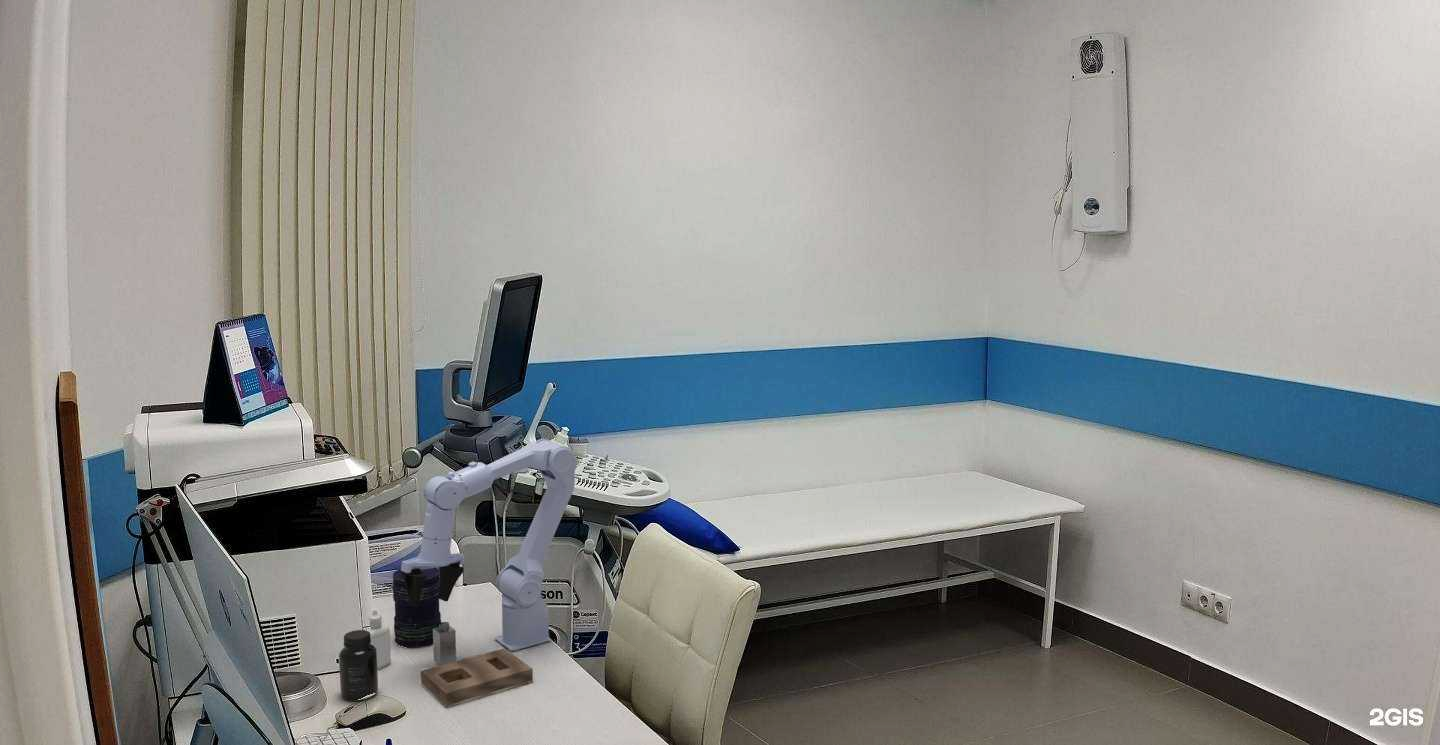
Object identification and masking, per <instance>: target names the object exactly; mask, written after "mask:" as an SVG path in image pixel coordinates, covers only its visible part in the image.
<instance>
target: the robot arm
mask: <svg viewBox="0 0 1440 745" xmlns="http://www.w3.org/2000/svg"><path fill="white" fill-rule="evenodd" d="M578 464H579V461H578V459H577V457H576V455H575V452H574V450H573V449H571V447H568V446H566V445H561V444H559V443H556V442H554V441H552V440H550V439H547V438H541V439H540V438H539V439H538V440H536V441H533V442H529V443H527V444H526V445H525V446H523V447H522V448H520V449H517V450H515V451H513V452H511V453H510V454H508V455H505V456H502V457H501V458H499V459H497V460H495V461H493V462H491V463H489V464H486V463H484V462H479V461H478V462H476V461H470V462H468V466H466V467H464V468H461V469H459V470H456V471H450V472H447V475H446V476H442V475H439V476H438V475H437V476H434V477H431V479H430V480H429V481H428V482H427V483H426V485H425V488H422V495H423V498H424V499H425V501H426V506H425V507H426V508H425V513H424V520H423V528H422V529H423V530H422V538H421V546H420V553H418V555H417V556H415V557H412V558H409V559H407V560H402V561H401V564H400V569H401V575H402V577H403V579H404V581H405V584H406V588H407V593H408V601H409V605H411V606H413V607H418V605H419V602H420V596H421V590H422V587H423V584H424V582H425V579H426V577H427V576H426V575H424V574H422V572H420V570H423V569H429V568H438V569H439V573H440V575H439V577H440V587H439V600H440V601H444V602H448V601H449V599H450V596H451V594H452V592H453V589H454V587H455V585H456V584H457V582H458V580H459V578H460V577H461V576H462V574H464V570H465V568H464V567H463V566H464V565H465V560H466V559H465V558H466V555H465V554H463V553H460V552H458V553H451V547H452V538H453V530H454V524H455V523H454V522H455V513H456V508H458V507H459V505H460V504H461V502H462V501H463V500H465V499H467V498H469V497H472V496H475V495H476V494H478V493H480V492H483V491H486V490H488V489H490V488H491V487H492V485H493V482H494V480H497V479H500V478H503V477H505V476H508V475H511V474H514V473H516V472H519V471H522V470H524V469H528V468H531V469H536V470H538V471H539V472H540V474H541V475H542V477H543V480H544V482H545V485H546V489H545V492H544V494H543V496H542V499H541V500H540V504H539V506H538V508H537V509H536V512H535V515H534V516H533V520H532V522H531V523H530V526H529V528H528V530H527V533H526V535H525V538H524V540H523V542H522V543H521V544H522V545H521V547H520V549H519V551H518V554H516V555H514V556H513V557H511V558H509V560H508V561H507V564H506V566H504V568H503V569H502V570H501V571H499V574H498V575H497V577H496V582H495V583H496V584H495V586H496V588H497V591H498V592H499V593H500V594H501V616H502V618H501V622H502V623H501V624H502V631H501V632H502V635H499V636H495V637H494V640H495V641H496V642H498V643H499V644H500V645H502V646H504V647H505V649H507V650H508V651H509V652H514V651H518V650H522V649H526V648H529V647H532V646H537V645H539V644H543V643H548V642H550V641H551V638H550V636H549V634H550V632H549V629H550V628H549V622H550V620H549V608H548V605H547V602H546V600H545V599H544V598H543V597H542V596H541V595H542V591H543V590H542V586H543V580H544V578H545V572H544V569H543V562H544V560H545V557H546V554H547V552H548V550H549V547H551V546H550V545H551V544H552V541H553V539H554V536H555V533H556V531H557V530H558V526H559V525H560V522H561V519H562V517H563V515H564V513H565V511H566V508H567V506H568V504H569V501H570V500H571V497H572V495H573V492H574V489H575V484H576V482H575V479H576V475H575V474H576V469H577V466H578ZM462 565H463V566H462Z"/></svg>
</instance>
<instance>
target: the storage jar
mask: <svg viewBox="0 0 1440 745" xmlns="http://www.w3.org/2000/svg"><path fill="white" fill-rule="evenodd" d="M420 572H422V574H424V575H426V576H427V577H426V579H425V582H424V584H423V587H422V590H421V596H420V602H419V605H418V607H413V606H411V605H409V601H408V593H407V588H406V584H405V581H404V579H403V577H402V575H401V568H399V569H397V570H395V571H394V572H393V573H392V580H393V581H392V593H393V594H392V595H393V596H392V599H393V601H394V616H393V631H394V642H396V643H397V644H398V645H400V646H403V647H406V648H405V649H421V648H422V649H423V648H427V647H431V646H433V628H438V627H439V623H441V622H442V620H441V619H442V616H441V615H442V614H441V612H440V599H439V587H440V573H439V568H438V567H436V568H429V569H423V570H420ZM396 643H395V644H396ZM398 645H397V646H398ZM400 646H399V647H400ZM403 647H402V648H403Z"/></svg>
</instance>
